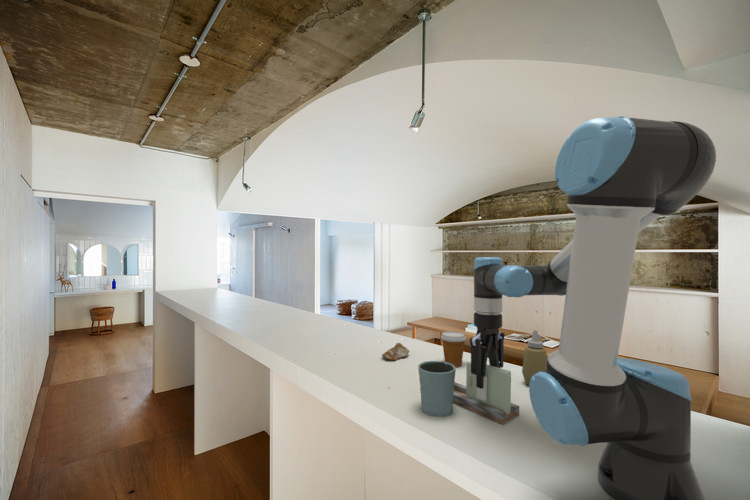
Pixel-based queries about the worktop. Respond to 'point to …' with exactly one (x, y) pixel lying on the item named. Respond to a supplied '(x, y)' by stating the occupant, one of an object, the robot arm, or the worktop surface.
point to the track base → (482, 406)
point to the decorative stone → (396, 352)
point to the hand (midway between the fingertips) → (487, 396)
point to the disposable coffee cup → (453, 347)
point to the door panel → (492, 387)
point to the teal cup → (437, 387)
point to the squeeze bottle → (534, 358)
